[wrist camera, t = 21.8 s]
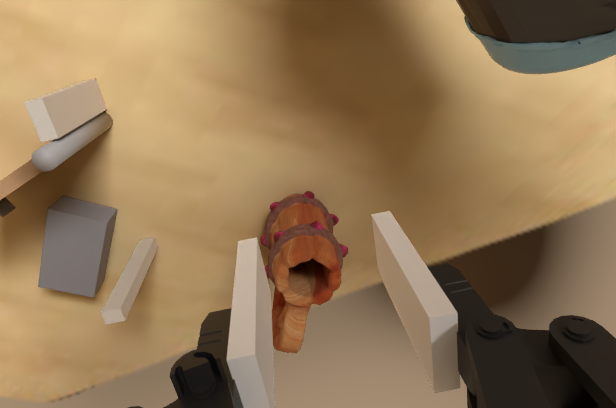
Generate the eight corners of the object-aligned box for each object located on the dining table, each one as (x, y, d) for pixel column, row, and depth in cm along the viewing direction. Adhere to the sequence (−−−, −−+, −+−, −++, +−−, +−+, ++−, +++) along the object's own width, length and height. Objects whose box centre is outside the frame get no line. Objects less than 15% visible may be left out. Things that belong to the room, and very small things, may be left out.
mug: (274, 174, 51) (280, 232, 37) (340, 190, 52) (369, 252, 39) (245, 278, 56) (240, 364, 42) (305, 290, 57) (320, 376, 44)
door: (87, 124, 46) (32, 158, 35) (104, 144, 47) (56, 183, 36) (1, 183, 48) (-77, 233, 37) (19, 201, 49) (-51, 255, 38)
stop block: (63, 194, 49) (47, 208, 46) (118, 208, 51) (107, 222, 47) (53, 268, 53) (38, 286, 49) (104, 278, 54) (93, 297, 50)
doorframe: (80, 81, 45) (7, 107, 32) (97, 78, 45) (32, 102, 32) (143, 250, 53) (106, 324, 40) (158, 247, 53) (125, 320, 40)
